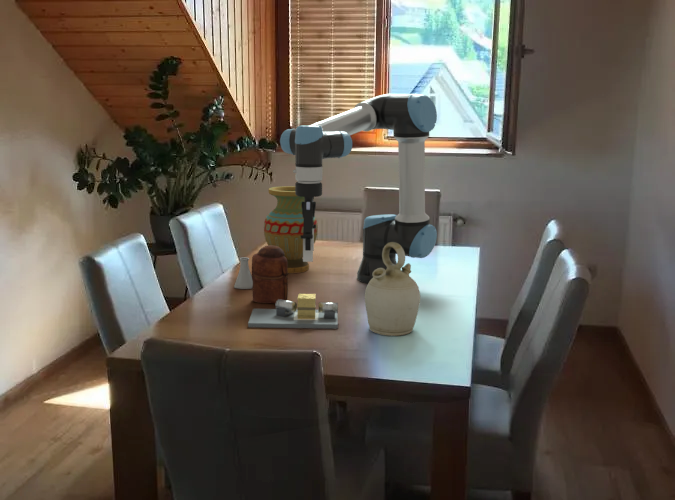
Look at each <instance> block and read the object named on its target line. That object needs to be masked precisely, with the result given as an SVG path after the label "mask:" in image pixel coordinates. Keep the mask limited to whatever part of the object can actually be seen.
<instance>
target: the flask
mask: <svg viewBox="0 0 675 500" xmlns="http://www.w3.org/2000/svg"><path fill="white" fill-rule="evenodd" d="M249 260H250V257H246V256H245V257H244V256H243V257H242V256H241V257H239V261H240V266H239V267H240V268H239V271H238V274H237V276H236V280H235V283H234V287H233V288H234V289H237V290H238V289H239V290H249V289H250V290H251V289H252V286H253V281H252V272H251V270H250V267H249Z"/></svg>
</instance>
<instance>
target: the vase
mask: <svg viewBox="0 0 675 500" xmlns="http://www.w3.org/2000/svg"><path fill="white" fill-rule="evenodd" d="M268 194H269V195H271V196H274V197H275V198H276V200H277V202H276V203H277V204H276V207H275V208H273V210H271V211H270V212H269V213H267V215H266V217H265V219H264V224H263V233H264V234H263V235H264V239H265V242H266V244H267V246H268V245H274V246H278V247H279V248H281V249H282V250H283V252H284V254H285V255H284V257H285V258H286V259H287V270H288V274H297V273H299V274H300V273H304V272H307V271H309V270H310V262H303V239H301V235H303V224H304V218H303V217H302V202H304V199H305V198H304V197H300V196H297V195H296V194H295V185H294V186H293V185H289V186H272V187H269V188H268ZM313 222H314V224H313V225H316V228H313V229H314V244H315V243H316V240H317V237H318V228H319V227H318V221H317V218H316V217H314V218H313Z"/></svg>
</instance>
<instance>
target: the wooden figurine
mask: <svg viewBox="0 0 675 500" xmlns="http://www.w3.org/2000/svg"><path fill="white" fill-rule="evenodd" d="M284 255H285V254H284V252H283V250H282V249H281V248H279V247H278V246H274V245H268V244H267V245H264V246H263V247H261V248H260V249H259V250H258V252H257V253H255V254H253V255H252V258H251V276H252V281H253V286H252V288H251V289H252V301H253V302H255V303H259V304H260V303H261V304H274V305H276V301H277V300H278V299H281V300H286V301H288V297H289V296H288V295H289V294H288V293H289V292H288V291H289V289H288V285H289V282H288V281H289V279H288V277H287V276H288V274H289V273H288V270H287V259H286V258H285V257H284Z"/></svg>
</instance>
